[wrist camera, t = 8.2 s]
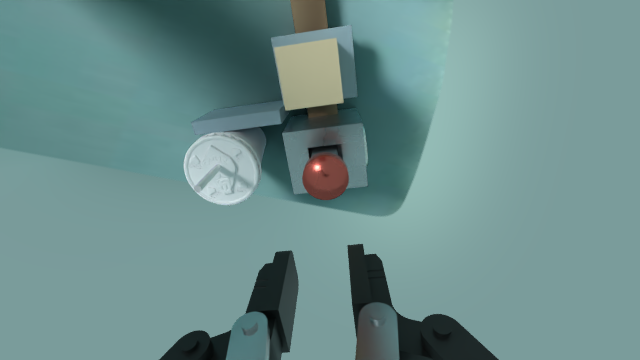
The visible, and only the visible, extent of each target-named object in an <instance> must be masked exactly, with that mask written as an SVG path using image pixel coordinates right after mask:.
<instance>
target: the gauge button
mask: <svg viewBox="0 0 640 360" xmlns="http://www.w3.org/2000/svg"><path fill="white" fill-rule="evenodd" d="M302 181H303V185H304V188H305V189H306V191H307V192H308V193H309V194H310V195H311V196H313V197H315V198H317V199H321V200H331V199H334V198H337V197H338V196H340V195H341V194H342V193H343V192H344V191H345V190H346V188H347V186H348V183H349V175H348V168H347V165H346V163H345V162H344V160H343V159H342V158H341V157H339V154H338V146H337V144H335V145H327V146H319V147H313V151H312V156H311V158H310V159H309V160H308V161H307V163H306V164H305V167H304V171H303V176H302Z"/></svg>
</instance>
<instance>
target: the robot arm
mask: <svg viewBox="0 0 640 360" xmlns="http://www.w3.org/2000/svg"><path fill="white" fill-rule="evenodd" d="M348 258H349V269H350V282H351V295H352V306H353V314H354V322H355V329H356V337H357V345H356V359H355V360H498V359H497V358H496V357H495V356H494V355H493V354H492V353H491V352H490V351H488V350H487V349H486V348H485V347H484V346H483V345H482V344H481V343H480V342H479V341H478V340H477V339H475V338H474V337H473V336H472V335H471V334H470V333H469V332H468V331H467V330H466V329H464V327H462V326H461V325H460V324H459V323H458V322H457V321H456V320H454V319H453V318H451V317H449V316H446V315H442V314H433V315H430V316H428V317H426V318H425V319H424V320H423V321H422V322H420V321H415V320H411V319H408V318H405V317H403V316H401V315H400V314H399V313H397V312H396V310H395V309H394V307H393V305H392V303H391V298H390V294H389V290H388V285H387V281H386V277H385V272H384V268H383V264H382V261H381V259H380V258H379V257H378V256H377V255H376V254H369V255H364V249H363V244H357V245H348ZM297 295H298V275H297V270H296V266H295V261H294V257H293V253H292V251H282V252H276V253H275V256H274V260H273V263H268V264H265V265H264V266H263V268H262V269H261V270H260V271H259V273H258V276H257V279H256V282H255V286H254V289H253V292H252V295H251V298H250V301H249V304H248V307H247V311H246V313H245V314H244V315H243V316H241V317H240V318H239V319H238V320H237V321H236V322H235V323H234V325H233V327H232V330H230V331H229V332H226V333H223V334H220V335H218V336H215V337H212V338H210V337H209V335H208V333H207V332H205V331H193V332H190V333H188V334H186V335H185V336H183V337H182V338H181V339H179V340H178V341H177V342H176V343H175V344H174V345H173V347H171V348H170V349H169V350H168V351H167V352H166V353H165V355H164V356H162V358H161V359H160V360H281V354H282V353H283V352H290V345H291V337H292V331H293V324H294V316H295V309H296V302H297Z"/></svg>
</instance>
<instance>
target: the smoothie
mask: <svg viewBox="0 0 640 360" xmlns="http://www.w3.org/2000/svg"><path fill="white" fill-rule="evenodd" d="M265 146H266V136H265V134H264V132H263V131H262V130H261V129H260V128H259V127H254V128H246V129H239V130H231V131H225V132H216V133H210V134H207V135H204V136H202V137H201V138H199V139H198V140H197V141H195V143H194V144H192V146H191V147H190V148H189V149H188V151H187V153H186V155H185V159H184V172H185V176H186V178H187V180H188V182H189V184H190V186H191V187H192V188H193V189H194V191H196V193H197V194H199V195H200V196H201V197H203V198H204V199H206V200H208V201H210V202H212V203H215V204H220V205H234V204H238V203H241V202H242V201H245V200H246V199H247V198H249V197H250V196H251V195H252V194H253V192H254V191H255V190H256V188H257V187H258V185H259V183H260V180H261V173H262V169H261V162H262V158H263V154H264V150H265Z"/></svg>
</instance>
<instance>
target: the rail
mask: <svg viewBox="0 0 640 360" xmlns="http://www.w3.org/2000/svg"><path fill="white" fill-rule="evenodd" d="M290 1H291V8H292V14H293V21H294V27H295V34H297V33H303V32H309V31H316V30H322V29H328V23H327V15H326V6H325V0H290ZM307 110H308V117H309V118H312V117H319V116H327V115H334V114H338V109H337V104H331V105H323V106H316V107H309V108H307Z"/></svg>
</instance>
